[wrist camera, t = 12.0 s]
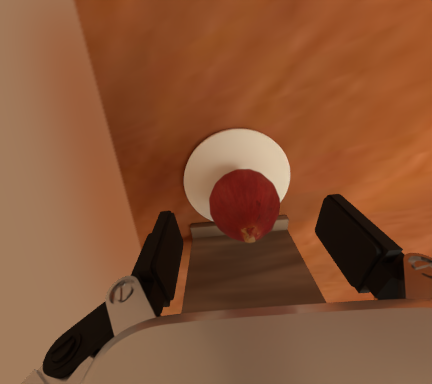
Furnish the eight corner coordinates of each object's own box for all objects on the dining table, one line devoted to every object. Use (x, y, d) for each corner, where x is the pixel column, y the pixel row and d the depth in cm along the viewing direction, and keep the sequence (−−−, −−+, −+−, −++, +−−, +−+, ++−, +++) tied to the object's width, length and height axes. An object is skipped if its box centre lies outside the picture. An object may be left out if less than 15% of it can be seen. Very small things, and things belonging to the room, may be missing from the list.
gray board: (191, 223, 21) (165, 366, 10) (286, 215, 21) (370, 356, 10) (197, 250, 24) (182, 388, 13) (282, 243, 23) (346, 381, 12)
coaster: (174, 135, 16) (172, 137, 15) (292, 120, 15) (296, 122, 14) (194, 223, 21) (194, 229, 21) (282, 215, 21) (285, 220, 20)
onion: (277, 182, 17) (319, 240, 10) (237, 214, 19) (250, 281, 13) (238, 144, 15) (258, 185, 8) (198, 185, 17) (188, 244, 11)
